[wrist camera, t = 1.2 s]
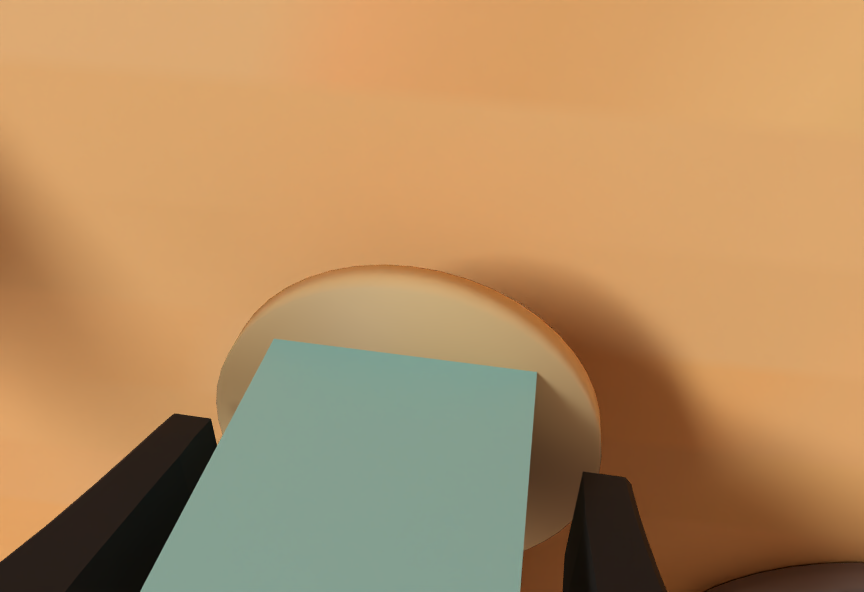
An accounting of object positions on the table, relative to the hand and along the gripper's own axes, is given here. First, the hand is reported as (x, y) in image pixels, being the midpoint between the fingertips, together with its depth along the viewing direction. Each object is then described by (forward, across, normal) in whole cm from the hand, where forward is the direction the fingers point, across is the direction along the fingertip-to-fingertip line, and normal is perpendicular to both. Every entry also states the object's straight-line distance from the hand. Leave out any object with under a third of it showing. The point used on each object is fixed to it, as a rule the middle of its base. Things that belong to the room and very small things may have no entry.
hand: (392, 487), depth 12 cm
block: (+1, 0, 0) cm, 1 cm away
